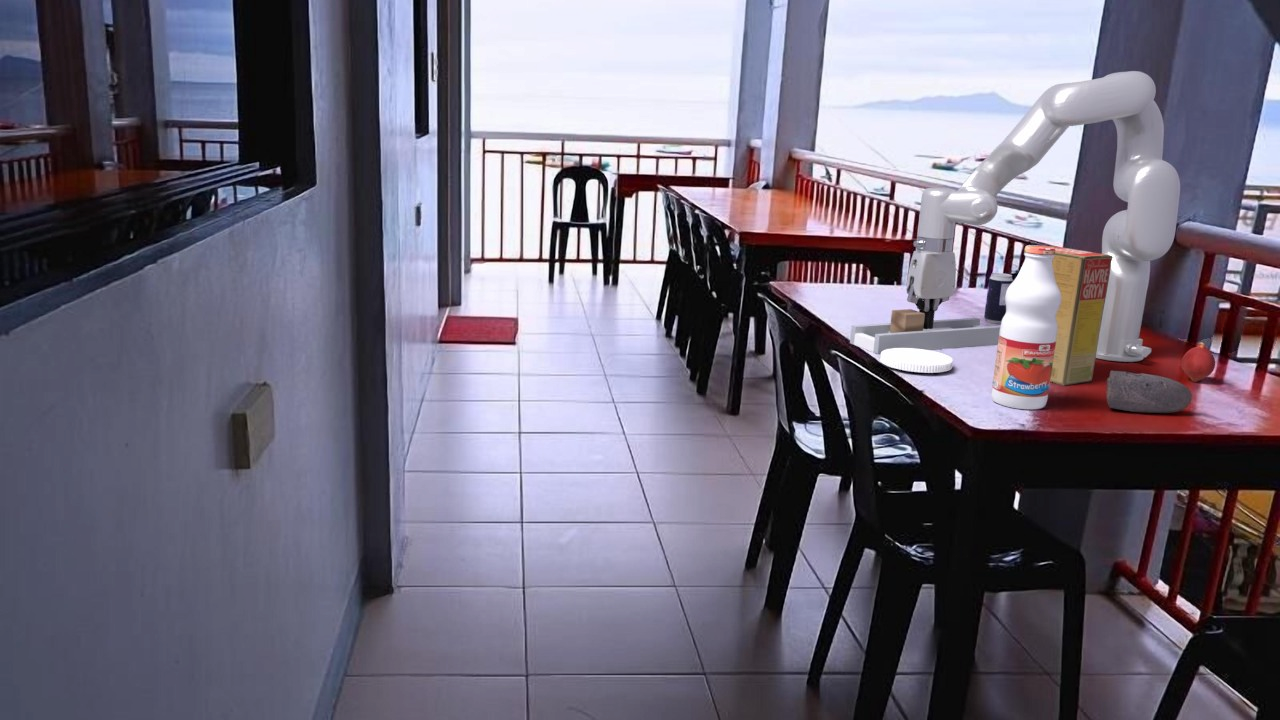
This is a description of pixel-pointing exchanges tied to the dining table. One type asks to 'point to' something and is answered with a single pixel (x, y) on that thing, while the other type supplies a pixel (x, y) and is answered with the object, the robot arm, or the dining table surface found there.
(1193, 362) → the onion
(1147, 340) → the dining table surface
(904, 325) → the walnut block
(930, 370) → the plastic lid
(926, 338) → the trap track
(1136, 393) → the perforated stone tool
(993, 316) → the beverage can
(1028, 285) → the fruit juice
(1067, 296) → the food packaging
